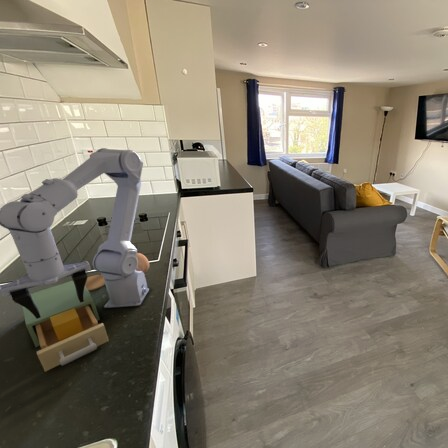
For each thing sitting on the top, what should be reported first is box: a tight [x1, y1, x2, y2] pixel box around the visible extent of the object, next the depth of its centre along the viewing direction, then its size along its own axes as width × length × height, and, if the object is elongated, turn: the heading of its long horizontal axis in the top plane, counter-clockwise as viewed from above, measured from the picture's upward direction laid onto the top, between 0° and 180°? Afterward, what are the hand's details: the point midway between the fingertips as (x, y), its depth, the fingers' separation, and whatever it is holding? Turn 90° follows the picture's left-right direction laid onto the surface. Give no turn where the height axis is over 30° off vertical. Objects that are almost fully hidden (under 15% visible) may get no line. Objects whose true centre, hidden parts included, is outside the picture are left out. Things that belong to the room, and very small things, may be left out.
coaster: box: [85, 274, 106, 292], centre depth 85 cm, size 9×9×1 cm
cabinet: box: [21, 280, 101, 348], centre depth 69 cm, size 15×13×7 cm
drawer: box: [35, 305, 110, 372], centre depth 61 cm, size 18×11×5 cm, turn 48°
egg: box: [136, 252, 150, 275], centre depth 89 cm, size 7×7×8 cm
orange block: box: [50, 308, 83, 342], centre depth 63 cm, size 5×5×5 cm
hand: (60, 307), depth 61 cm, fingers open, 7 cm apart
